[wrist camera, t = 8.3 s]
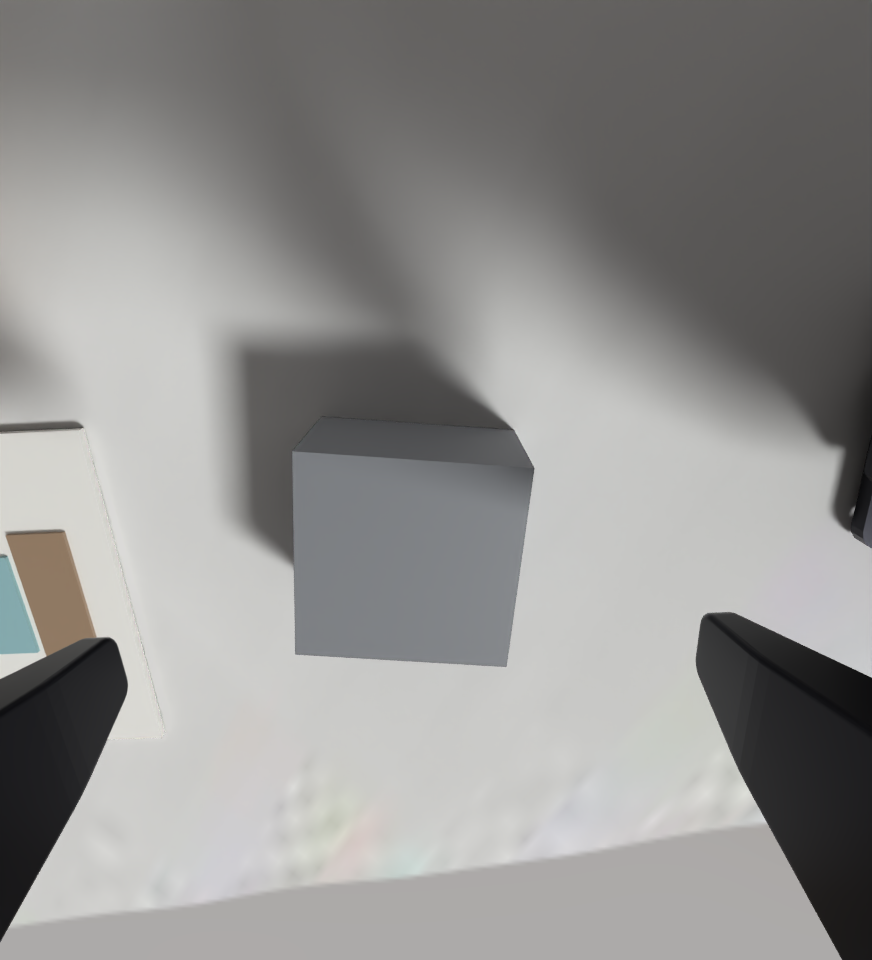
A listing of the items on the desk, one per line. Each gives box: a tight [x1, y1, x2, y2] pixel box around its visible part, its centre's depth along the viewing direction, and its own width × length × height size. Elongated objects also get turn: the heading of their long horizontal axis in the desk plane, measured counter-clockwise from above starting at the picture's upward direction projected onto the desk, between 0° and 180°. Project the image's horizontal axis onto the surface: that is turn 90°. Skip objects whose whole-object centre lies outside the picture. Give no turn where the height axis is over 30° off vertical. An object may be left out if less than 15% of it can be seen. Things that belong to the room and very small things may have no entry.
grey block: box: [292, 417, 534, 667], centre depth 12 cm, size 4×4×3 cm
